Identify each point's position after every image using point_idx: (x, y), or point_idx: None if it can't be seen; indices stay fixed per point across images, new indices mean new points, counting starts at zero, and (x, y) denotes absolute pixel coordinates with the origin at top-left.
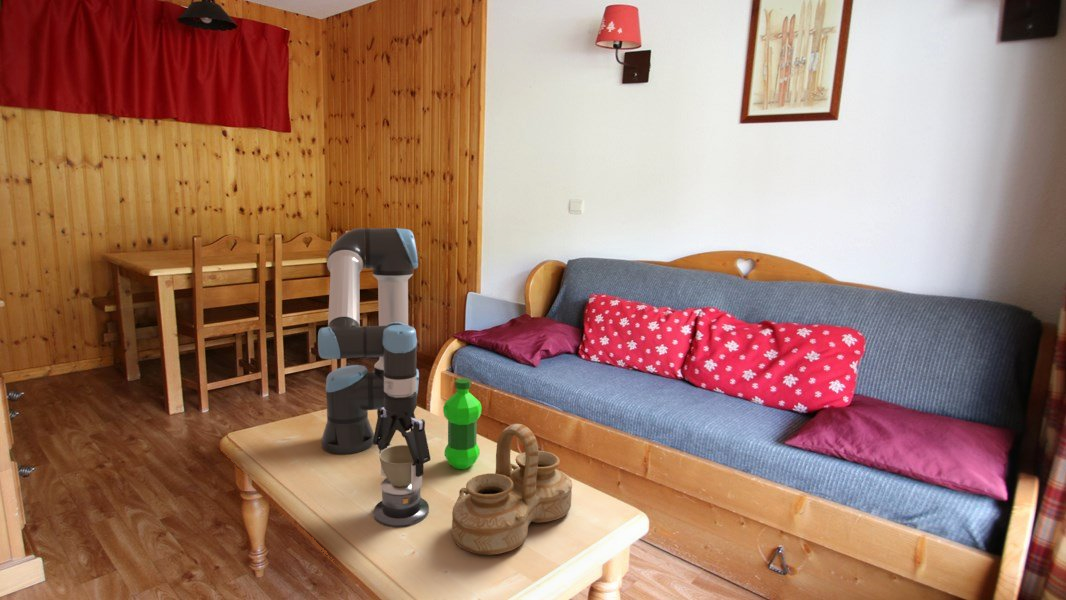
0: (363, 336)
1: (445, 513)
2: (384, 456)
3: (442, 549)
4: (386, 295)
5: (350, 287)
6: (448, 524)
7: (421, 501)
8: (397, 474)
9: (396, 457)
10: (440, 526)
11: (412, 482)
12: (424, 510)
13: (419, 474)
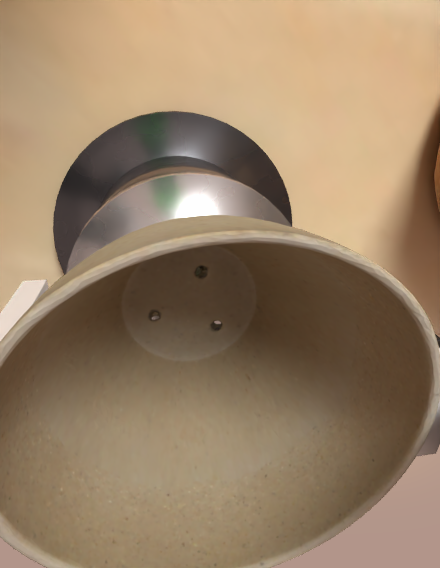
0: None
1: (332, 116)
2: (42, 470)
3: (437, 287)
4: None
5: None
6: (386, 173)
7: (202, 137)
8: (285, 443)
9: (51, 326)
10: (367, 203)
11: None
12: (269, 187)
13: None
